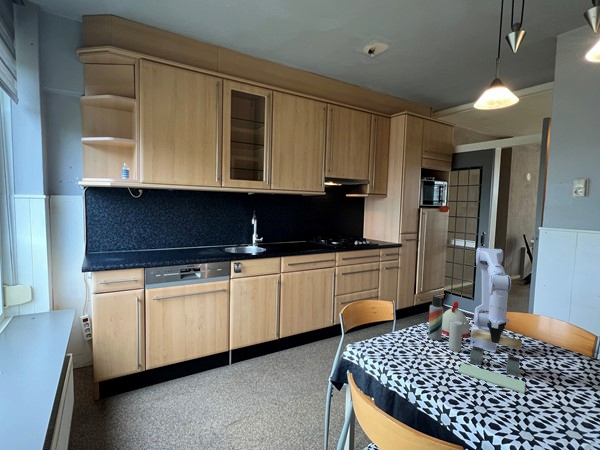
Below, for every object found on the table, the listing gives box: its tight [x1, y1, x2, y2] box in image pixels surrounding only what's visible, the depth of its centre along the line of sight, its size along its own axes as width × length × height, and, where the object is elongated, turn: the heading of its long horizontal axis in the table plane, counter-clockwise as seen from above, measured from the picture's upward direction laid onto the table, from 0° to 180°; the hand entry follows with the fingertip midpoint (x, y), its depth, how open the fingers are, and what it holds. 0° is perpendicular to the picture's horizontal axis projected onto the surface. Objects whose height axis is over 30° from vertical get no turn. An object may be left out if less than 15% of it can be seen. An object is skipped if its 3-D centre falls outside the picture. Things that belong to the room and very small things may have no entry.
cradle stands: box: [469, 346, 521, 378], centre depth 118 cm, size 16×5×5 cm, turn 52°
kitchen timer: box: [442, 300, 471, 338], centre depth 152 cm, size 14×14×15 cm
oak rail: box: [471, 329, 523, 350], centre depth 118 cm, size 16×3×2 cm, turn 52°
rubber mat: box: [457, 362, 526, 394], centre depth 111 cm, size 20×8×1 cm, turn 52°
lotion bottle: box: [427, 295, 444, 341], centre depth 144 cm, size 6×6×20 cm
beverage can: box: [448, 321, 463, 353], centre depth 132 cm, size 5×5×12 cm
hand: (495, 341), depth 118 cm, fingers closed on oak rail, 3 cm apart
